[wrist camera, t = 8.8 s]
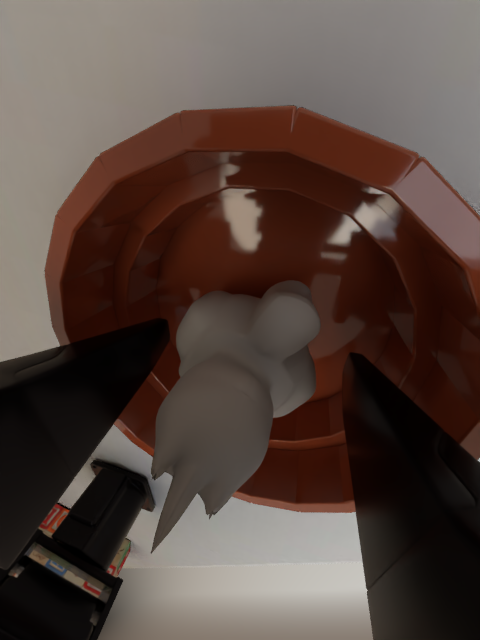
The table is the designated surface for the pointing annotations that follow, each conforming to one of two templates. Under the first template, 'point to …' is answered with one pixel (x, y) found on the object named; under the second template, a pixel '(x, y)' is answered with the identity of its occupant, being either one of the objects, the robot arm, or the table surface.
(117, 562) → the stack of blocks
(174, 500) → the grey rounded figurine
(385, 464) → the robot arm
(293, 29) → the table surface
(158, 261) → the bowl
